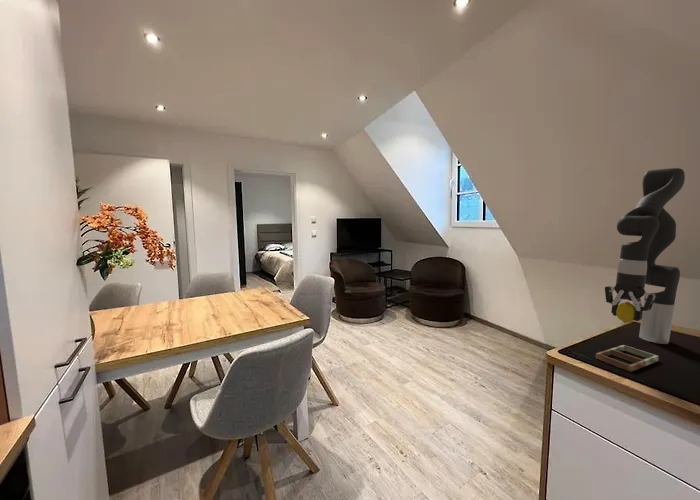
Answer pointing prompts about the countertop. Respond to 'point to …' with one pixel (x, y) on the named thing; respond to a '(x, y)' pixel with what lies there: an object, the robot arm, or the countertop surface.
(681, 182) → the robot arm
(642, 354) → the frame
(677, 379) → the countertop surface
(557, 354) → the countertop surface
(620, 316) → the lemon
